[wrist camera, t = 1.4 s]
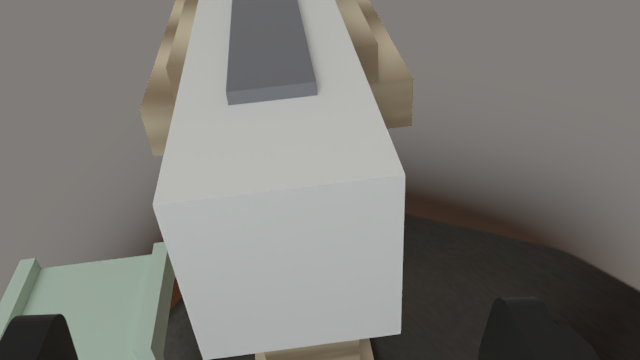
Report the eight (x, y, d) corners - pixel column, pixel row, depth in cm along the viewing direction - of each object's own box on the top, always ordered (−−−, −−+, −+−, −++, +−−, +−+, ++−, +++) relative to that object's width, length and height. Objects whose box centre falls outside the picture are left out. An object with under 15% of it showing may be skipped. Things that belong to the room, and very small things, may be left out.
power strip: (231, -16, 31) (217, -106, 28) (301, -23, 31) (293, -113, 28) (203, 360, 11) (142, 174, 8) (400, 333, 11) (406, 143, 8)
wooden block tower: (256, 329, 51) (167, -83, 30) (362, 315, 51) (347, -100, 30) (260, 505, 39) (110, 14, 17) (398, 485, 39) (416, -18, 18)
